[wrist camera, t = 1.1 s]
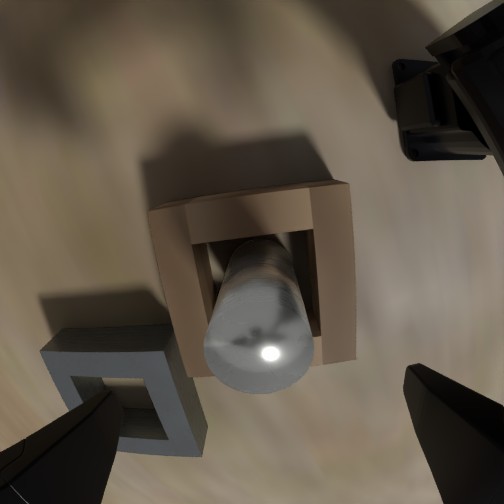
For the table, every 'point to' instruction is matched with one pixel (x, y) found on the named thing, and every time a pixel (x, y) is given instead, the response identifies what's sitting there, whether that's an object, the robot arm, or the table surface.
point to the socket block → (255, 224)
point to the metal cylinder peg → (259, 322)
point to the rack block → (133, 366)
